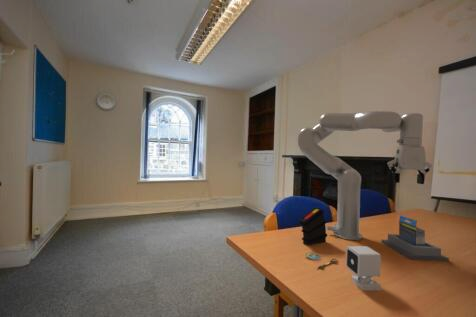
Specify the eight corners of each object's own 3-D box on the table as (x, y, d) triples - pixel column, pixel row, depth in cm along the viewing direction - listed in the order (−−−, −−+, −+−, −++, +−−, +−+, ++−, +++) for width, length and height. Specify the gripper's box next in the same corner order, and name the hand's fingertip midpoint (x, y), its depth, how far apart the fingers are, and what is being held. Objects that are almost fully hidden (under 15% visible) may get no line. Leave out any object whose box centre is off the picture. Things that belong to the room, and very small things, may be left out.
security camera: (345, 279, 66) (346, 245, 66) (367, 278, 67) (368, 245, 67) (358, 291, 60) (359, 254, 60) (382, 291, 60) (383, 254, 60)
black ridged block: (331, 237, 97) (322, 208, 94) (312, 255, 92) (301, 224, 89) (324, 234, 101) (315, 206, 98) (305, 251, 95) (295, 221, 92)
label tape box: (425, 252, 86) (426, 220, 86) (415, 252, 85) (416, 220, 85) (406, 243, 94) (407, 215, 94) (397, 243, 94) (398, 214, 94)
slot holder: (409, 259, 82) (410, 247, 82) (381, 242, 99) (381, 232, 99) (448, 261, 81) (449, 249, 81) (413, 243, 98) (414, 234, 98)
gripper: (394, 141, 91) (392, 182, 91) (439, 143, 90) (437, 185, 90) (383, 142, 99) (381, 181, 99) (425, 144, 97) (423, 183, 97)
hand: (408, 183), depth 94 cm, fingers open, 9 cm apart
